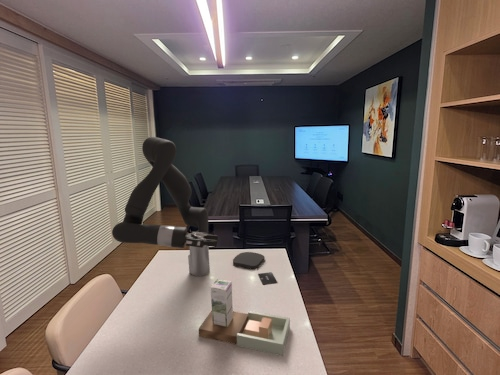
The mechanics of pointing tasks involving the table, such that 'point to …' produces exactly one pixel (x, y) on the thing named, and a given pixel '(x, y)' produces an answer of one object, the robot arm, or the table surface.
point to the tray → (276, 338)
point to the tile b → (265, 328)
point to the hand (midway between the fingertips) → (217, 241)
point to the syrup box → (221, 302)
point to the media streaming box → (248, 260)
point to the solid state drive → (267, 278)
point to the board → (224, 328)
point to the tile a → (252, 328)
